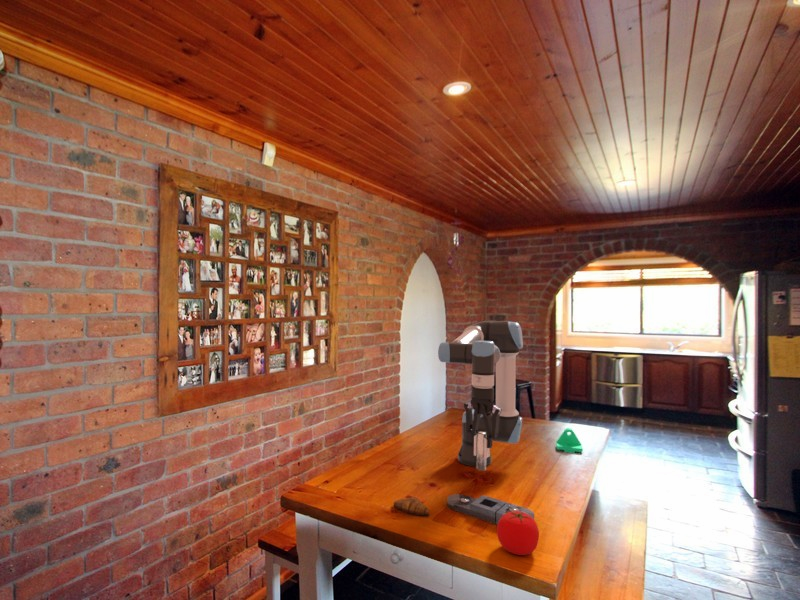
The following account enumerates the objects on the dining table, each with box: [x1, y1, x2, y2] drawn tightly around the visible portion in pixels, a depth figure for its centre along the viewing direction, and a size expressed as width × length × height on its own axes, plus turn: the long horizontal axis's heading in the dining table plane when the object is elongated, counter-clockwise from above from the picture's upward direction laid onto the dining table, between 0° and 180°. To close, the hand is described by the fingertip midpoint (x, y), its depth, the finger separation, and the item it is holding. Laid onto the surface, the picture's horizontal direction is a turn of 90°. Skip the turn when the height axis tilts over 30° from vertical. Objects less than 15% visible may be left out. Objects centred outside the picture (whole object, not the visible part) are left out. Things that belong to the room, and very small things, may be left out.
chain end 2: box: [470, 494, 535, 526], centre depth 142 cm, size 20×9×5 cm, turn 53°
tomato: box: [496, 511, 540, 556], centre depth 124 cm, size 12×12×10 cm
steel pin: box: [476, 432, 487, 471], centre depth 145 cm, size 3×3×12 cm
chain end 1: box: [446, 493, 496, 525], centre depth 149 cm, size 20×9×3 cm, turn 53°
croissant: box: [393, 496, 430, 517], centre depth 147 cm, size 14×7×5 cm, turn 60°
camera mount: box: [555, 427, 584, 454], centre depth 216 cm, size 12×8×10 cm, turn 72°
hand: (481, 455), depth 145 cm, fingers closed on steel pin, 3 cm apart
